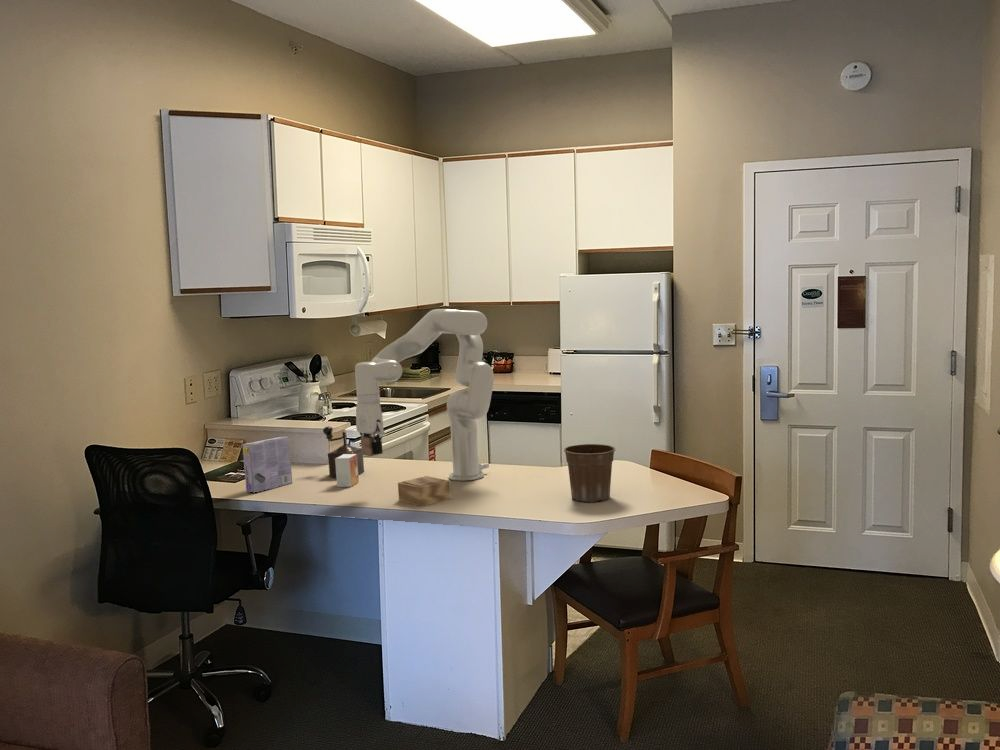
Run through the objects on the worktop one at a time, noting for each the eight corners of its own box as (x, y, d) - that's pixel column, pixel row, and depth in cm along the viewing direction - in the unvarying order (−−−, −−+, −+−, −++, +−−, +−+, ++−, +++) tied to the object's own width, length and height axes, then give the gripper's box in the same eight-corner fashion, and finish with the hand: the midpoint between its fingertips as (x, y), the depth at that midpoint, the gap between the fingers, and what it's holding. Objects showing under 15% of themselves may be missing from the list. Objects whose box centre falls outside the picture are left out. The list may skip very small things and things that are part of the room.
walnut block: (374, 451, 310) (373, 434, 309) (382, 453, 306) (381, 435, 306) (361, 454, 307) (360, 436, 306) (370, 456, 303) (368, 438, 302)
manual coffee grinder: (366, 471, 349) (362, 425, 347) (354, 478, 339) (351, 430, 337) (328, 471, 353) (325, 425, 351) (316, 477, 342) (312, 430, 340)
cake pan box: (286, 481, 338) (282, 434, 337) (295, 482, 336) (292, 435, 334) (244, 493, 323) (240, 443, 321) (254, 494, 320) (250, 444, 318)
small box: (351, 487, 323) (349, 458, 322) (336, 487, 325) (334, 458, 323) (359, 482, 331) (357, 453, 330) (344, 482, 332) (342, 453, 331)
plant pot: (619, 492, 297) (617, 443, 295) (614, 504, 281) (612, 453, 279) (570, 491, 300) (568, 443, 298) (562, 504, 285) (560, 453, 283)
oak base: (427, 493, 308) (426, 475, 307) (450, 498, 299) (449, 479, 298) (398, 500, 300) (397, 481, 299) (421, 506, 291) (419, 486, 290)
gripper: (345, 398, 309) (349, 451, 311) (373, 402, 296) (377, 457, 298) (364, 395, 313) (367, 447, 315) (392, 399, 301) (396, 453, 303)
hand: (372, 451), depth 307 cm, fingers closed on walnut block, 5 cm apart
